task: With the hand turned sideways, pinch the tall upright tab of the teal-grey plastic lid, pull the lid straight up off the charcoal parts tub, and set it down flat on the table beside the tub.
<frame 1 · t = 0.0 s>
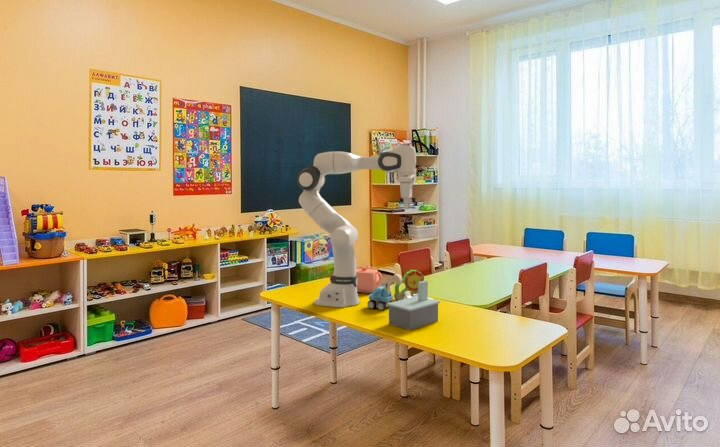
hand: (406, 207, 218), 48 cm above the table, tool pointing down, fingers open, 8 cm apart
tub: (413, 322, 194), on the table
bracket: (419, 307, 221), on the table
toy excavator: (385, 309, 217), on the table
lid: (413, 304, 194), point 8 cm above the table, touching tub
teapot: (365, 290, 256), on the table
toy lion: (409, 299, 234), on the table
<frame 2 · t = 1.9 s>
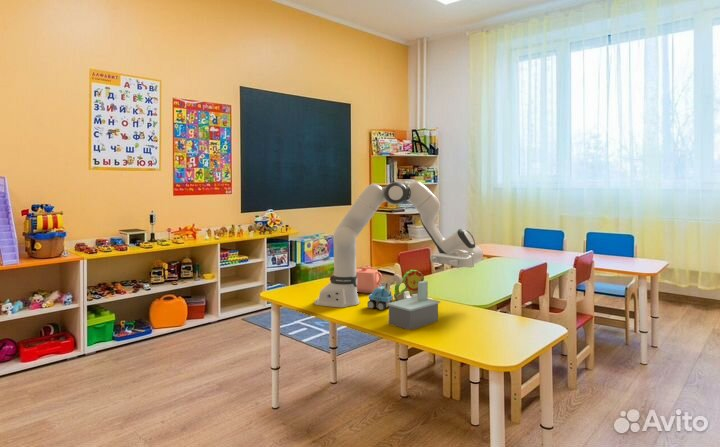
hand: (440, 261, 205), 24 cm above the table, tool horizontal, fingers open, 8 cm apart
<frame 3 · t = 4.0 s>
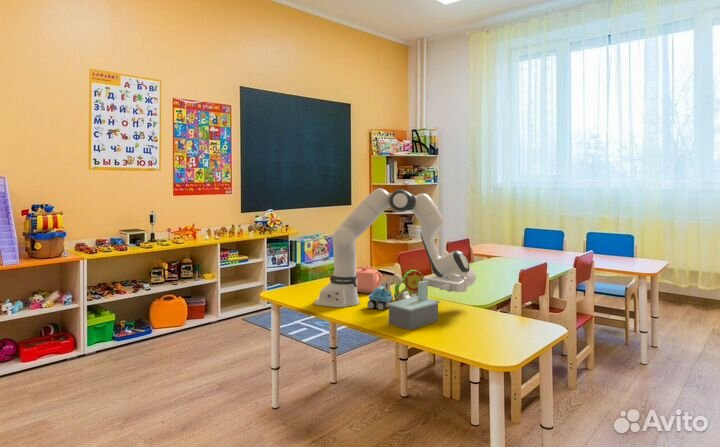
hand: (432, 286, 202), 14 cm above the table, tool horizontal, fingers open, 8 cm apart
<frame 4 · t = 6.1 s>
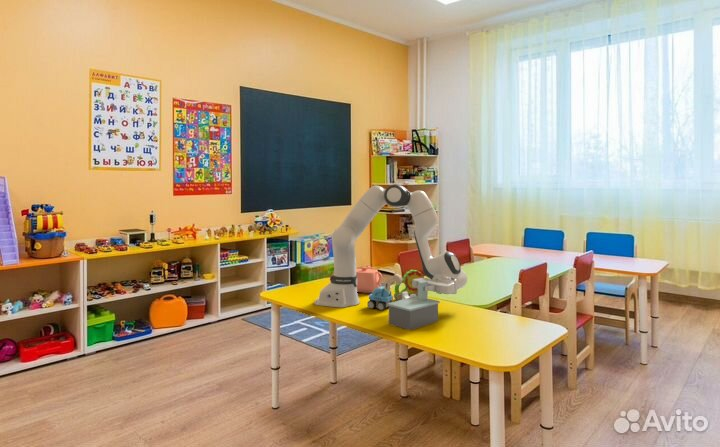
hand: (421, 288, 197), 14 cm above the table, tool horizontal, fingers closed on lid
lid: (413, 304, 194), point 8 cm above the table, touching gripper, tub
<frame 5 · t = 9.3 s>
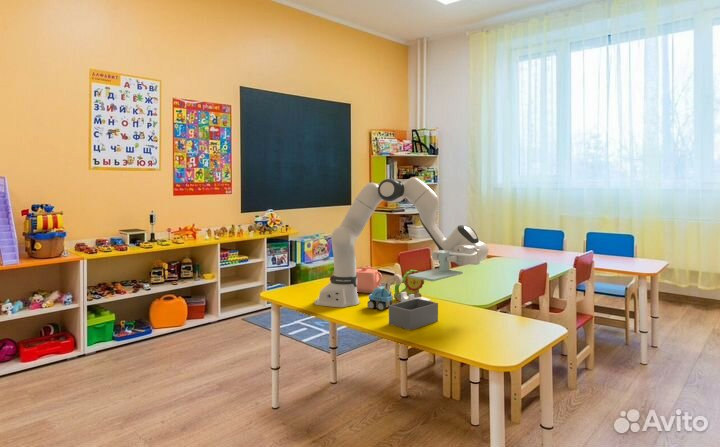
hand: (443, 259, 188), 28 cm above the table, tool horizontal, fingers closed on lid
lid: (435, 275, 185), point 22 cm above the table, touching gripper
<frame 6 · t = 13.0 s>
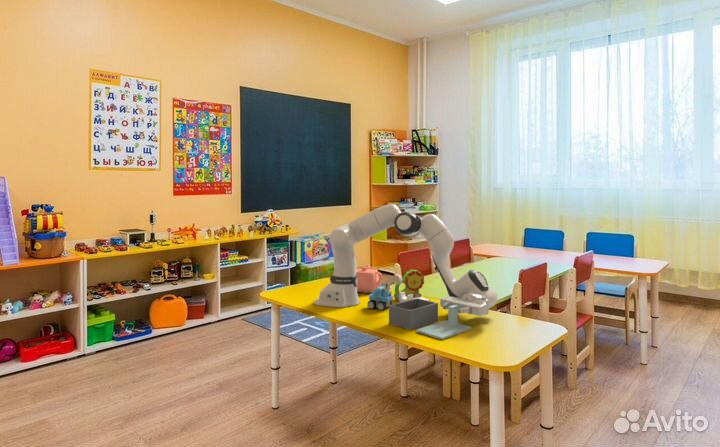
hand: (451, 309, 185), 8 cm above the table, tool horizontal, fingers open, 6 cm apart
lid: (444, 330, 183), on the table
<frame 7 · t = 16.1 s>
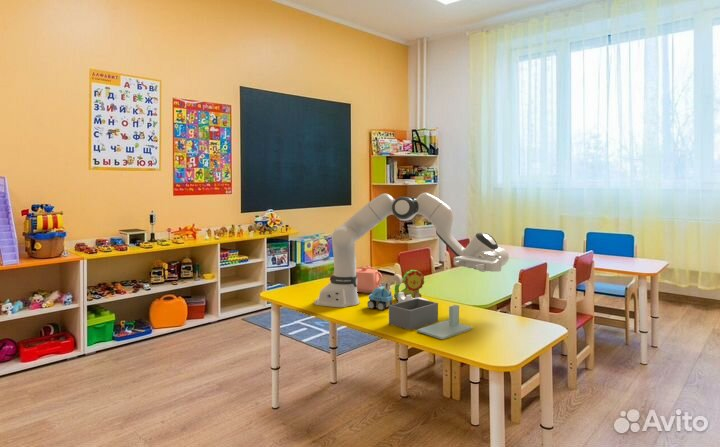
hand: (465, 265, 191), 25 cm above the table, tool horizontal, fingers open, 8 cm apart
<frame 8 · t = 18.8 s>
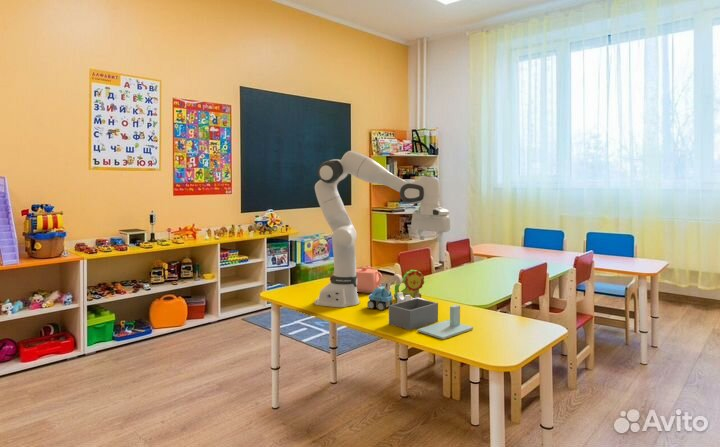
hand: (429, 240, 209), 33 cm above the table, tool pointing down, fingers open, 8 cm apart
at the end: lid touching table; lid inside the target area (0.6 cm from its centre), on the table; lid tilted 0° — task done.
